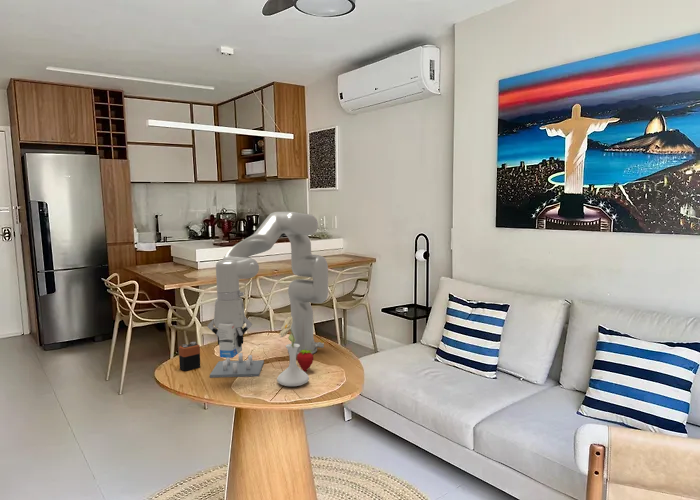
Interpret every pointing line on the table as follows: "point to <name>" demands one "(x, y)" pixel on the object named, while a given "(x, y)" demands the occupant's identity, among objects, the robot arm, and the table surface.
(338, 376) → the table surface
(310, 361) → the strawberry
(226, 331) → the ink box
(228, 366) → the pin tray
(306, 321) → the robot arm
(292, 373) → the flower in vase
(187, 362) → the battery
